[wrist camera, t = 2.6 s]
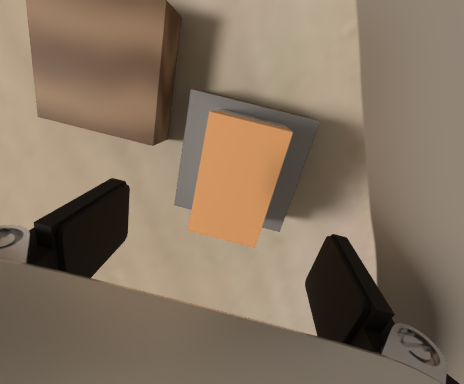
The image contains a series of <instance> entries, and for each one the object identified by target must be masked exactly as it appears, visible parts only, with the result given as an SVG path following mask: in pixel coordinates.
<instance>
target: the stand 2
mask: <svg viewBox="0 0 464 384" xmlns="http://www.w3.org/2000/svg"><path fill="white" fill-rule="evenodd" d="M217 109H224V110H228V111H232V112H236V113H240V114H244V115H248V116H252V117H256V118H260V119H264V120H268V121H272V122H276V123H280V124H284V125H285V126H286V127H288V128H289V129H290V130H291V131H292V132H293V134H292V137H291V140H290V143H289V146H288V149H287V152H286V155H285V158H284V161H283V164H282V168H281V171H280V174H279V177H278V180H277V183H276V186H275V189H274V192H273V195H272V198H271V201H270V204H269V207H268V210H267V213H266V216H265V219H264V222H263V225H262V228H266V229H270V230H274V231H278V232H280V229H281V226H282V224H283V221H284V218H285V216H286V213H287V210H288V207H289V205H290V202H291V199H292V197H293V194H294V191H295V188H296V186H297V183H298V180H299V177H300V175H301V172H302V169H303V167H304V164H305V161H306V158H307V156H308V153H309V150H310V148H311V145H312V142H313V139H314V137H315V134H316V131H317V128H318V126H319V123H320V121H317V120H314V119H311V118H307V117H303V116H299V115H295V114H291V113H287V112H283V111H279V110H275V109H271V108H267V107H263V106H259V105H255V104H251V103H247V102H243V101H239V100H235V99H231V98H227V97H223V96H219V95H215V94H211V93H207V92H203V91H199V90H193V89H191V92H190V99H189V106H188V113H187V120H186V127H185V134H184V141H183V148H182V155H181V162H180V169H179V175H178V182H177V189H176V196H175V203H174V205H176V206H180V207H183V208H187V209H191V210H192V205H193V199H194V194H195V188H196V183H197V177H198V172H199V166H200V160H201V155H202V149H203V144H204V138H205V132H206V127H207V121H208V116H209V111H213V110H217Z"/></svg>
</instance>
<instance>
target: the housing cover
mask: <svg viewBox="0 0 464 384" xmlns="http://www.w3.org/2000/svg"><path fill="white" fill-rule="evenodd" d="M292 134H293V132H292V131H291V130H290V129H287V128H283V127H279V126H275V125H271V124H267V123H263V122H259V121H255V120H251V119H247V118H243V117H239V116H235V115H231V114H227V113H223V112H219V111H215V110H213V111H209V116H208V121H207V127H206V132H205V138H204V144H203V149H202V155H201V160H200V166H199V172H198V177H197V183H196V188H195V194H194V199H193V205H192V211H191V216H190V222H189V227H188V231H191V232H195V233H199V234H203V235H207V236H211V237H215V238H219V239H223V240H227V241H231V242H235V243H239V244H242V245H246V246H250V247H254V248H255V247H256V244H257V241H258V238H259V235H260V231H261V228H262V225H263V222H264V219H265V216H266V213H267V210H268V207H269V204H270V201H271V198H272V195H273V192H274V189H275V186H276V183H277V180H278V177H279V174H280V171H281V168H282V164H283V161H284V158H285V155H286V152H287V149H288V146H289V143H290V140H291V137H292Z"/></svg>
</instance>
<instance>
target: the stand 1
mask: <svg viewBox="0 0 464 384" xmlns="http://www.w3.org/2000/svg"><path fill="white" fill-rule="evenodd" d="M26 6H27V16H28V25H29V35H30V45H31V54H32V64H33V74H34V84H35V93H36V103H37V113H38V117H41V118H45V119H49V120H53V121H57V122H61V123H64V124H68V125H72V126H76V127H80V128H84V129H88V130H92V131H96V132H100V133H104V134H108V135H112V136H116V137H120V138H124V139H128V140H132V141H136V142H140V143H144V144H148V145H152V146H153V145H156V144H158V143H160V142H163V141H165V140H167V138H168V129H169V121H170V112H171V103H172V95H173V86H174V77H175V69H176V60H177V51H178V43H179V34H180V26H181V16H180V15H179V14H178V13H177V12H176V10H175V9H174V8H173V7H172V6H171V5H170V4H169V3H168V2H167V0H26Z"/></svg>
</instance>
